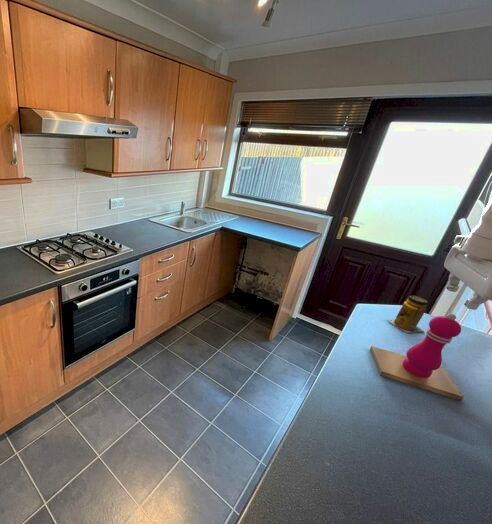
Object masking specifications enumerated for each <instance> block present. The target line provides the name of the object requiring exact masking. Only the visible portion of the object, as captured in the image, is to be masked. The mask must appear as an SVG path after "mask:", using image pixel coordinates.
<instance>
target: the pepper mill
mask: <svg viewBox="0 0 492 524" xmlns="http://www.w3.org/2000/svg"><path fill="white" fill-rule="evenodd" d="M456 319H457V315H456V314H454V313H448V314H446V316H444V315H438V316H434V317H432V318H431V319H430V320H429V322H428V328H427V330H425V337H424V339H422V340H421V341H420V342H419V343H417V344H414V345H412V346H410V347H409V348H408V349H407V351H406V352H405V356H407V358H405V360H404V361H403V363H402V365H403V367H404V368H405V369H406V370H407V371H409V372H410V373H412V374H414V375H416V376H419V377H422V378H429V377H430V376H431V374H432V373H433V371H432V370H437V369H439V368H440V366H442V363H443V357H442V356H443V355H442V352H443V349H444V347H445V346H446V345H447V344H450V343H451V342H452V340H453V338H455V337H458V336H459V335H460V334H461V333H462V326H461V324H460V323H459V322H458V321H457V320H456Z"/></svg>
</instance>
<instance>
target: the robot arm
mask: <svg viewBox="0 0 492 524" xmlns="http://www.w3.org/2000/svg"><path fill="white" fill-rule="evenodd" d="M443 263H444V264H443V267H444V268H445V269H446V270H447V271H448V272H449V275H448V281H447V284H446V286H445V289H446V290H447V291H449V292H453V293H457V292H458V290H459V289H460V282H462V283H463V284H464V285H466V286H467V287H468V288H469V289H471V290H472V291H473V292H474V293H473V295H472V296H473V297H471V298H470V299H469V298H467V299H466V300H465V302H464V303H463V305H464V306H465V307H466V308H467V309H468V310H471V311H472V310H473V311H477V310H478V308H479V307H480V305H482V304H485V303H486V302H488V301H491V302H492V198H491V199H490V200H489V201H488V203H487V205H486V206H485V207H484V210H483V211H482V213H481V215H480V220H479V222H478V224H477V225H476V226H475V227H474V228H473V229H472V230H471V232H470V233H469V235H467V234H466V235H456V236H455V238H454V240H453V245H452V246H451V249H450V250H449V252H448V253H447V256H446V258H445V260H444V262H443Z"/></svg>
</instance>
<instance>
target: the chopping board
mask: <svg viewBox="0 0 492 524" xmlns="http://www.w3.org/2000/svg"><path fill="white" fill-rule="evenodd" d="M369 352H370V354H371V357H372V358H373V362H374V365H375V367H376V369H377V372H378V373H379V376H382V377H385V378H388V379H391V380H395V381H397V382H401V383H404V384H407V385H409V386H413V387H416V388H420V389H423V390H425V391H430V392H432V393H436V394H438V395H441V396H445V397H448V398H451V399H454V400H457V401H462V400H463V399H464V395H463V393H462V392H461V391H460V389H459V388H458V386H457V385H456V383H455V382H454V381H453V379H452V378H451V376H450V375H449V373H448V372H447V370H446V368H445V367H444V366H443V365H441V366H440V368H439V369H437V370H432V371H433V373H432V374H431V376H430V377H429V378H422V377H419V376H416V375H414V374H412V373H410V372H409V371H407V370H406V369H405V368H404V367H403V365H402V363H403V361H404V360H405V358H407V355H405V354H400V353H397V352H394V351H390V350H387V349H383V348H380V347H377V346H373V345H372V346H370V348H369Z"/></svg>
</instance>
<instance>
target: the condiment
mask: <svg viewBox="0 0 492 524" xmlns="http://www.w3.org/2000/svg"><path fill="white" fill-rule="evenodd" d="M428 304H429V302H428V300H427V299H425V298H423V297H420V296H417V295H409V296H408V298H406V301H404V302H403V303H402V305H401V308H400V309H399V311H398V312H397V314H396V316H395V318H394V319H391V320H390V319H389V320H388V319H387V321H388V323H391V324H392V325H393V326H395V327H397V328H398V329H400V330H401V331H403V332H404V333H407V334H410V333H423V332H425V330H424V329H422V328H420V327H419V326H418V324H419V323H420V322H421V319H422V318H423V316H424V314H425V312H426V311H427V309H426V308H427V307H428Z"/></svg>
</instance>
